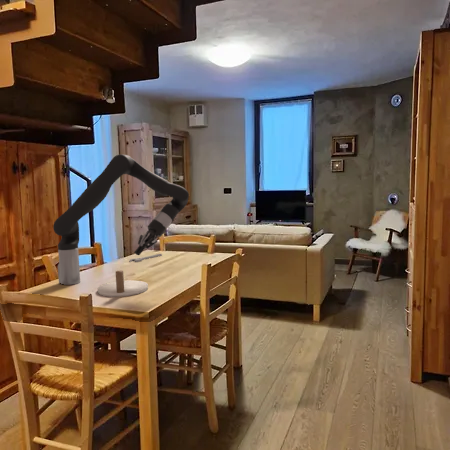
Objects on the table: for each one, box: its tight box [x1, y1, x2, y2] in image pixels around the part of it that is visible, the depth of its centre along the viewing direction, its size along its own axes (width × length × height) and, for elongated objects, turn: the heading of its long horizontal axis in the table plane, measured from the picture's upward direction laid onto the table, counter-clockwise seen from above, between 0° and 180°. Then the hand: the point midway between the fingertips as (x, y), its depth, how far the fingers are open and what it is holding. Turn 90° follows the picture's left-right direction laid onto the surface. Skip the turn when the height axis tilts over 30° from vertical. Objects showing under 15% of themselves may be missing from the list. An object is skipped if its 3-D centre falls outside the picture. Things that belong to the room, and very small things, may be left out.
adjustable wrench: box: [129, 253, 163, 263], centre depth 262 cm, size 25×6×2 cm, turn 138°
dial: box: [97, 270, 149, 298], centre depth 185 cm, size 22×22×10 cm
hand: (136, 254), depth 181 cm, fingers closed
